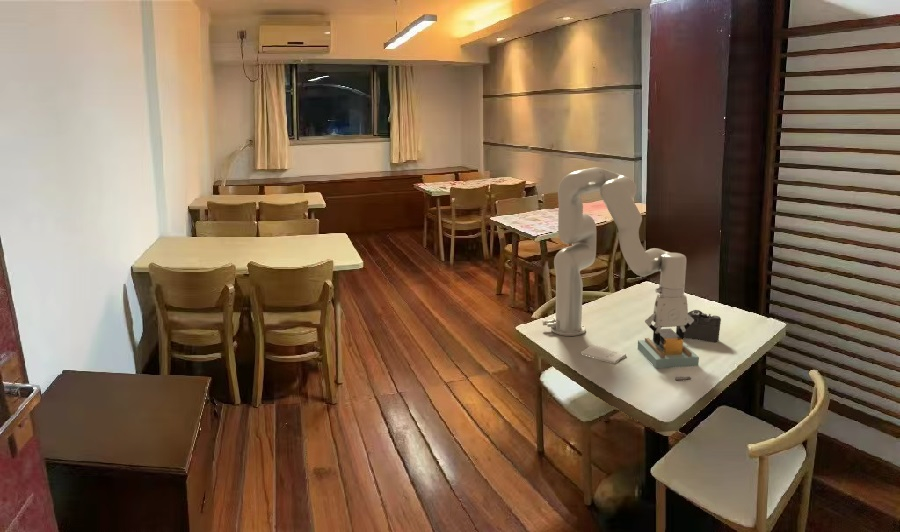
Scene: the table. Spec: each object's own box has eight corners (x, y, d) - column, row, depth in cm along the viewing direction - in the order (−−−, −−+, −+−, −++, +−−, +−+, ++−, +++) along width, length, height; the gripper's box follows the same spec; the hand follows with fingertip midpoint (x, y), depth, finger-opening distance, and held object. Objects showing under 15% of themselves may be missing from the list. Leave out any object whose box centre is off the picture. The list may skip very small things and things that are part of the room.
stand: (655, 368, 203) (656, 356, 202) (637, 348, 218) (638, 337, 217) (698, 365, 204) (699, 353, 203) (677, 346, 219) (678, 335, 218)
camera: (720, 333, 230) (722, 307, 228) (718, 344, 221) (720, 317, 218) (678, 327, 236) (680, 302, 234) (674, 338, 227) (677, 311, 224)
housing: (653, 343, 215) (654, 329, 214) (669, 342, 215) (670, 328, 214) (665, 355, 205) (666, 340, 204) (681, 354, 206) (683, 339, 204)
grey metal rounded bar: (675, 381, 194) (675, 378, 194) (673, 380, 195) (674, 376, 195) (692, 380, 194) (692, 377, 194) (690, 379, 196) (690, 375, 195)
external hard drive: (592, 348, 221) (626, 357, 213) (580, 356, 215) (614, 365, 207) (593, 344, 221) (626, 353, 213) (581, 351, 215) (614, 361, 207)
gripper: (649, 296, 201) (646, 348, 206) (703, 293, 202) (698, 345, 207) (641, 289, 208) (638, 339, 213) (692, 286, 209) (688, 337, 214)
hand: (667, 342), depth 210 cm, fingers open, 7 cm apart
